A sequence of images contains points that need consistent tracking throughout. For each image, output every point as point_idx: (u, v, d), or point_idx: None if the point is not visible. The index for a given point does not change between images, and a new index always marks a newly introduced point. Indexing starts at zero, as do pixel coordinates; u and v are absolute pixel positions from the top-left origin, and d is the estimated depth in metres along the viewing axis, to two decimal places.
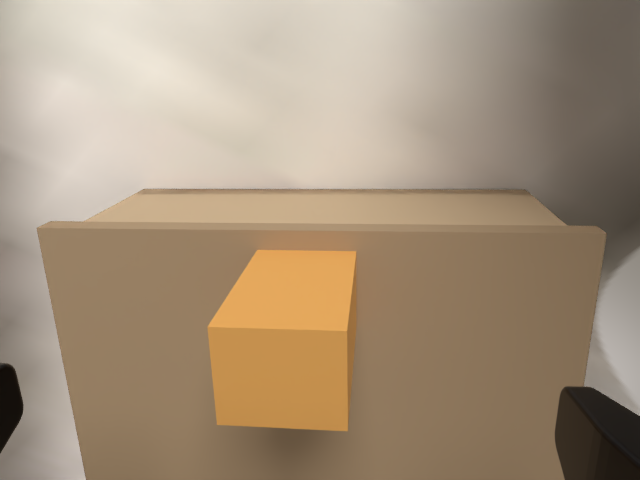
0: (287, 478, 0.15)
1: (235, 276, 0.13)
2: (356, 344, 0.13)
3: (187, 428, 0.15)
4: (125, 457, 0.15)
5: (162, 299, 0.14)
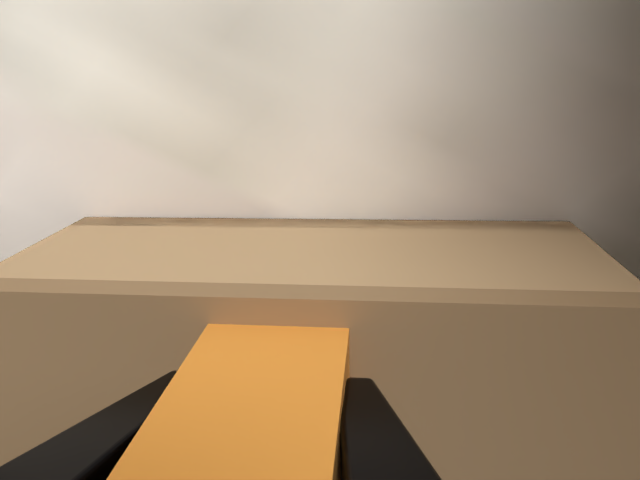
0: None
1: (179, 359, 0.09)
2: None
3: None
4: None
5: (79, 387, 0.10)
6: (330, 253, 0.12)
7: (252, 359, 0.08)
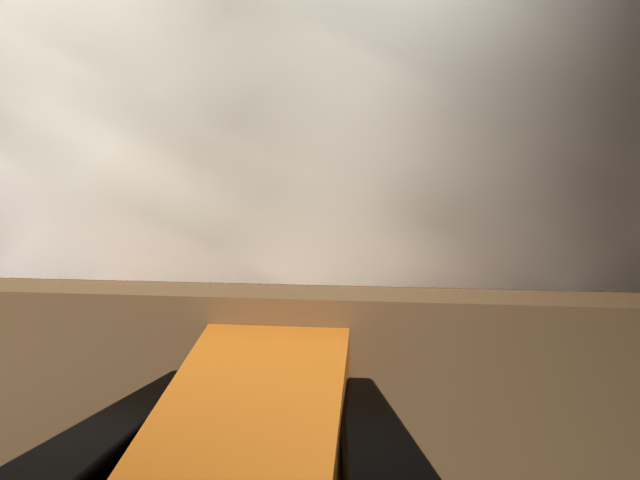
0: None
1: (179, 359, 0.09)
2: None
3: None
4: None
5: (79, 387, 0.10)
6: None
7: (252, 359, 0.08)
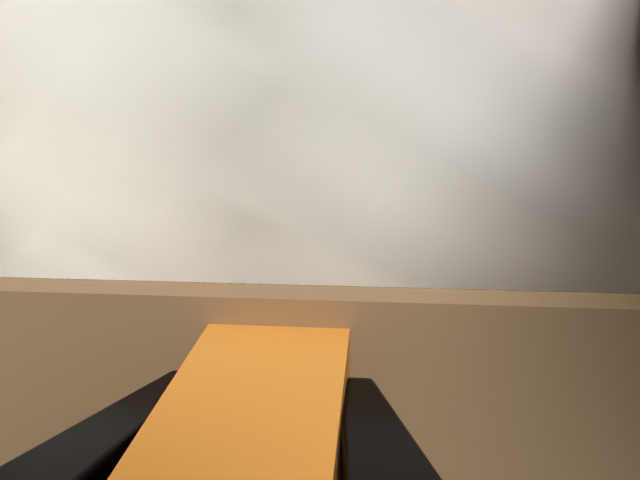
0: None
1: (179, 359, 0.09)
2: None
3: None
4: None
5: (79, 386, 0.10)
6: None
7: (252, 360, 0.08)
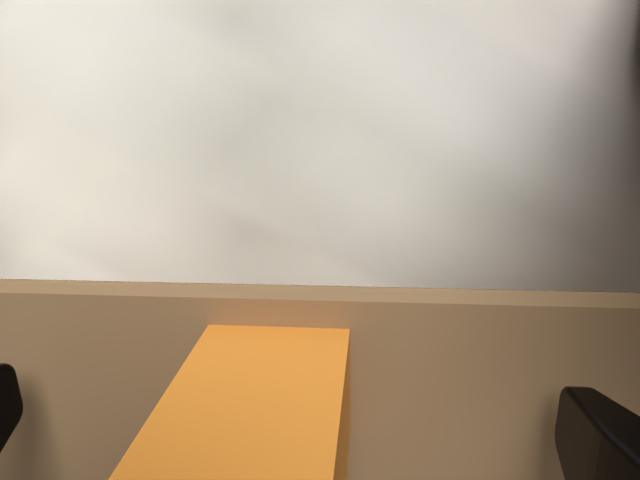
0: None
1: (179, 360, 0.09)
2: (350, 452, 0.10)
3: None
4: None
5: (80, 388, 0.10)
6: None
7: (253, 360, 0.08)
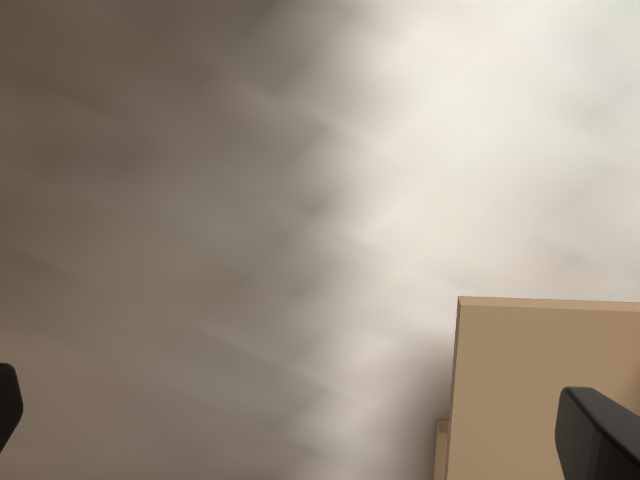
0: None
1: (638, 350, 0.15)
2: None
3: (555, 476, 0.17)
4: None
5: (563, 367, 0.16)
6: None
7: None
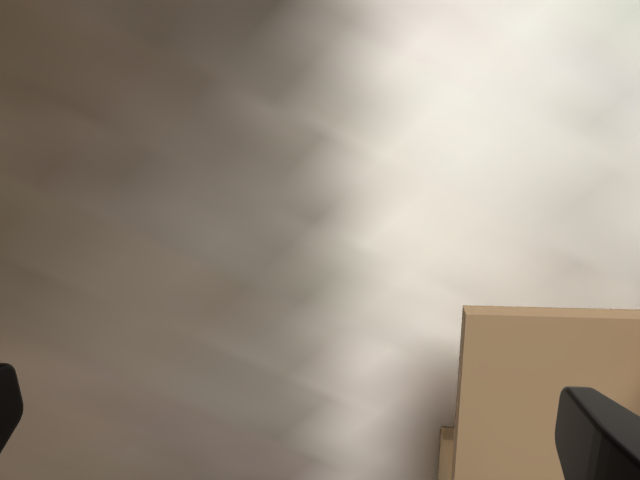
0: None
1: None
2: None
3: None
4: None
5: (569, 376, 0.15)
6: None
7: None
